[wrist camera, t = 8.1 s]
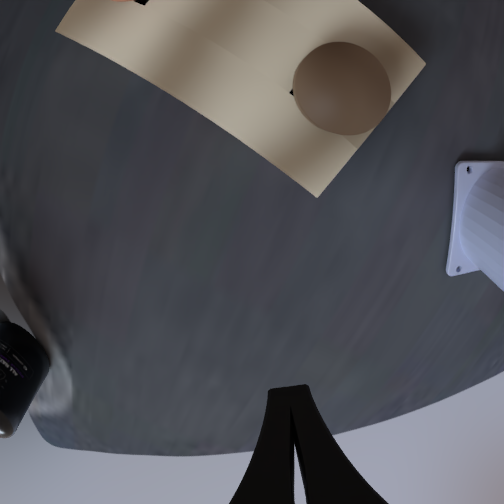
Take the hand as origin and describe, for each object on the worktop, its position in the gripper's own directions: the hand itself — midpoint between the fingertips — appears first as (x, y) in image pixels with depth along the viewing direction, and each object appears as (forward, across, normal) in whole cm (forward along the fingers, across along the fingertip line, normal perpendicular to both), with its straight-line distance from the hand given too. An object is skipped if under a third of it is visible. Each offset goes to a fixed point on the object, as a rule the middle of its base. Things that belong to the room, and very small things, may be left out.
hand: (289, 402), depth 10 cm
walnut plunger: (+9, -4, -10) cm, 14 cm away
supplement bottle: (+10, +24, +5) cm, 26 cm away
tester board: (+9, 0, -14) cm, 17 cm away
